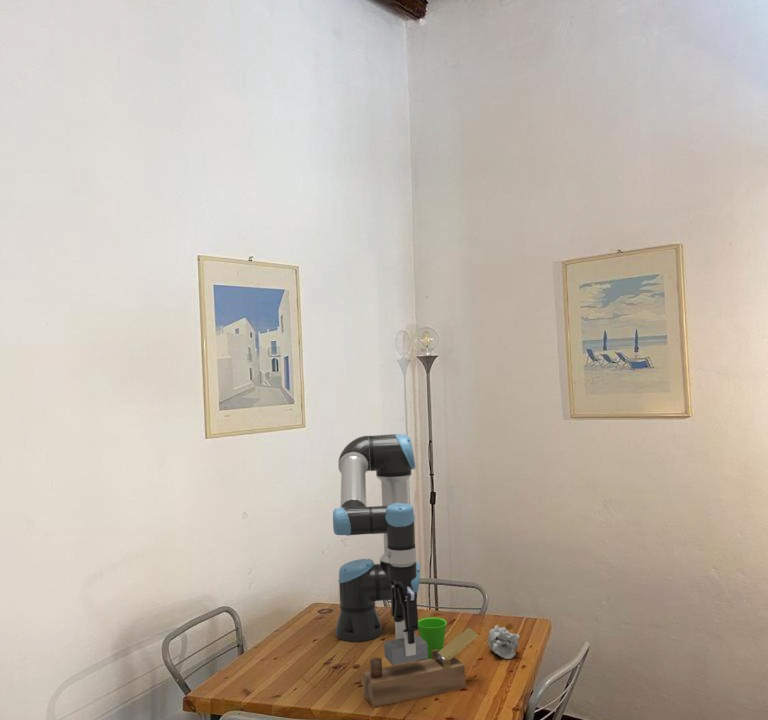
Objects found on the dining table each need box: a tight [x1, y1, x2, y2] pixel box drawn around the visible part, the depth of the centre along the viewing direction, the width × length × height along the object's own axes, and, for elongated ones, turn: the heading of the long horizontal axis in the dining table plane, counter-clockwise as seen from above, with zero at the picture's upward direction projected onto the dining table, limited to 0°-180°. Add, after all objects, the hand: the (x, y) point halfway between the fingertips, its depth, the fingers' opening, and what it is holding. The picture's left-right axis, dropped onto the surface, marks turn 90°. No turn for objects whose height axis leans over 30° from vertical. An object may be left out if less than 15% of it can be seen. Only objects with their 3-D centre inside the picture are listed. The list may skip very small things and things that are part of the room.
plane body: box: [362, 649, 466, 708], centre depth 190 cm, size 8×26×10 cm, turn 110°
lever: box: [434, 627, 479, 663], centre depth 194 cm, size 6×1×12 cm
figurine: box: [487, 624, 521, 660], centre depth 213 cm, size 8×10×12 cm
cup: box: [418, 616, 448, 660], centre depth 210 cm, size 9×9×11 cm
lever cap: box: [383, 634, 428, 666], centre depth 190 cm, size 6×10×5 cm, turn 110°
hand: (405, 650), depth 190 cm, fingers closed on lever cap, 6 cm apart
